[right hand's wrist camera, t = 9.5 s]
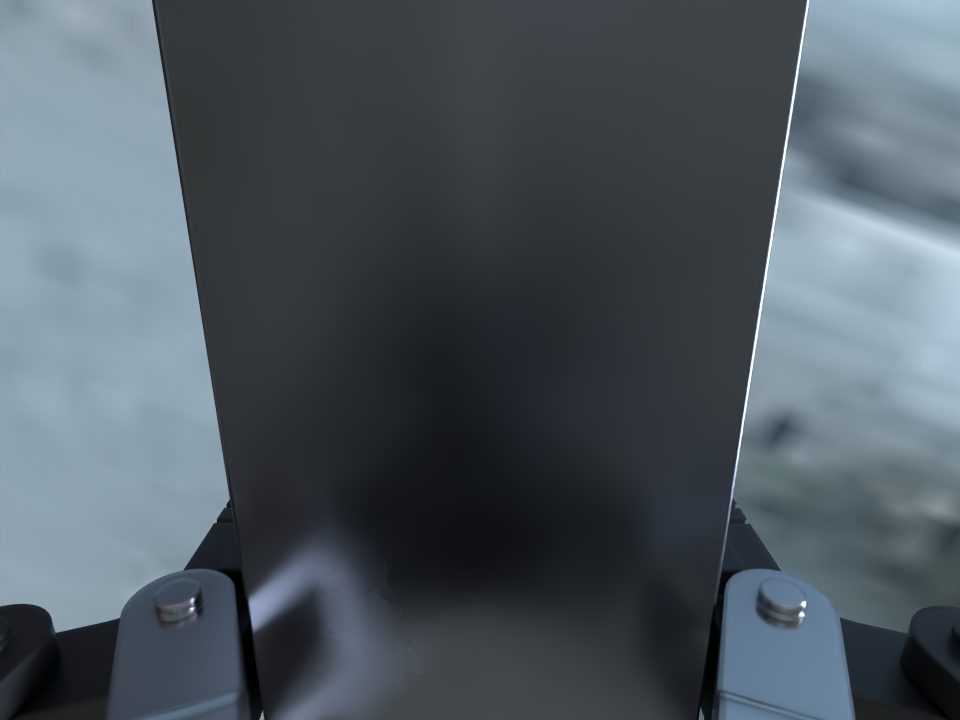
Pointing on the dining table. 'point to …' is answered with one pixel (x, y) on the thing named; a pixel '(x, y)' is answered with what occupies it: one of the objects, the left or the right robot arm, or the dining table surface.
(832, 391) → the dining table surface
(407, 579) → the bar
